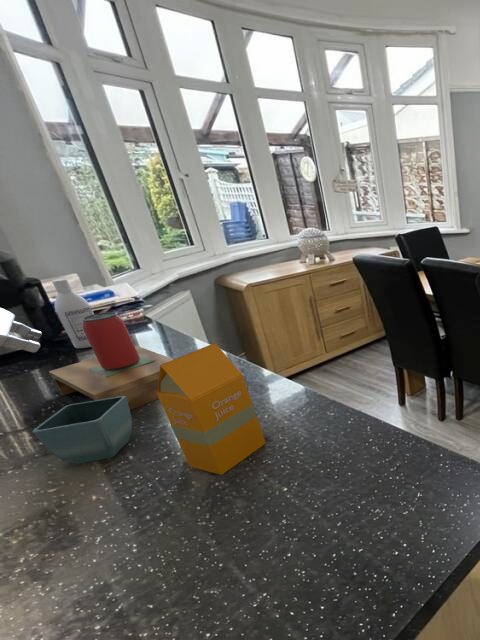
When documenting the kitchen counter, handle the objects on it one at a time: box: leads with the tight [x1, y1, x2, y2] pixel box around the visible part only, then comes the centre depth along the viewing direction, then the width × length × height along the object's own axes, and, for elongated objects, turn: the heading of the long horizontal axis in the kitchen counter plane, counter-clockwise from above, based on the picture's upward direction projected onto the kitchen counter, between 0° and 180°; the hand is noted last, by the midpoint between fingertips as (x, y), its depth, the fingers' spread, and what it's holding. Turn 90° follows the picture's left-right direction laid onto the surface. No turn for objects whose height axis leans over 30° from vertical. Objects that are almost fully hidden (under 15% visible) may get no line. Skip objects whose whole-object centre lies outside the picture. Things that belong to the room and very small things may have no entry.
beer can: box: [82, 311, 140, 370], centre depth 88 cm, size 7×7×12 cm
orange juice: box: [157, 342, 267, 476], centre depth 66 cm, size 8×9×20 cm
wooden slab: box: [48, 345, 175, 411], centre depth 91 cm, size 16×24×6 cm, turn 62°
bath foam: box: [51, 278, 95, 349], centre depth 115 cm, size 7×7×20 cm
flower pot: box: [31, 396, 133, 465], centre depth 69 cm, size 9×9×9 cm
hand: (39, 342), depth 82 cm, fingers open, 8 cm apart
